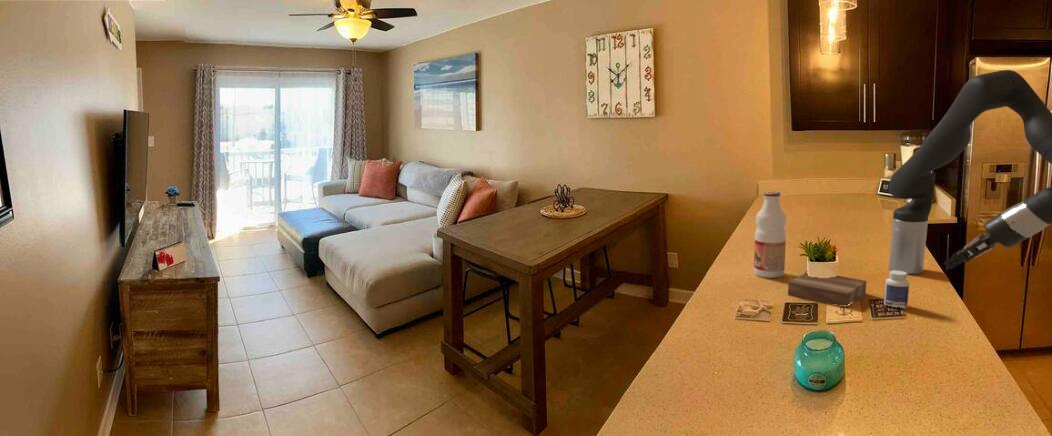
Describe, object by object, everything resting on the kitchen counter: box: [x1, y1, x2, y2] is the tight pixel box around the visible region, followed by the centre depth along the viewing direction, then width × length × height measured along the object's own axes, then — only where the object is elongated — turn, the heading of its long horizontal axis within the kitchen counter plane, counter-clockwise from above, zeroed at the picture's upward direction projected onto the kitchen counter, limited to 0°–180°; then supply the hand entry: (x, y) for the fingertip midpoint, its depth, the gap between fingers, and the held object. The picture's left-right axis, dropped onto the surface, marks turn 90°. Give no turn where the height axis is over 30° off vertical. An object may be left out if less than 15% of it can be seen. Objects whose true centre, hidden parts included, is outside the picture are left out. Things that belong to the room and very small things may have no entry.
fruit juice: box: [753, 190, 787, 279], centre depth 177 cm, size 9×9×28 cm
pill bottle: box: [883, 270, 910, 310], centre depth 147 cm, size 5×5×10 cm
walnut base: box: [787, 271, 867, 306], centre depth 159 cm, size 15×16×4 cm
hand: (950, 262), depth 137 cm, fingers open, 8 cm apart
